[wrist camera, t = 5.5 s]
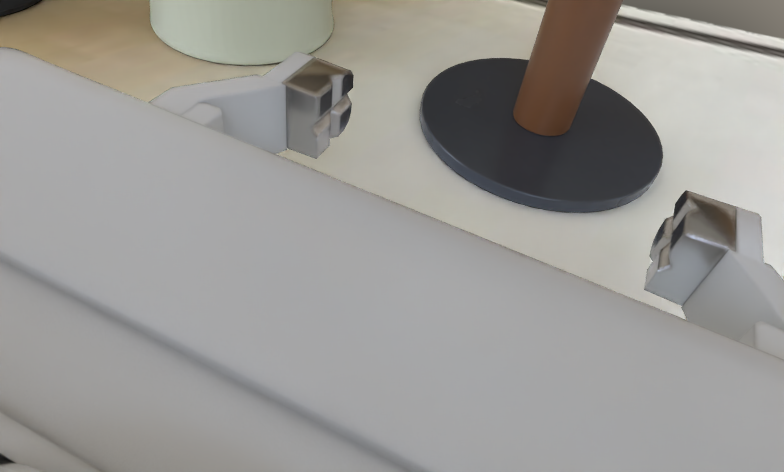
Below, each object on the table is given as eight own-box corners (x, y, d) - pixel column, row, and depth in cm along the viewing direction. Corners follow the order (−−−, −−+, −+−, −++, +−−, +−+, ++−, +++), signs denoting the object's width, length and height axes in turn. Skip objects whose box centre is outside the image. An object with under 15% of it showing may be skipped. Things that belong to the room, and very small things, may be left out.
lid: (629, 86, 29) (698, -57, 24) (686, 231, 22) (802, 68, 17) (425, 54, 29) (451, -96, 24) (411, 190, 21) (445, 12, 16)
